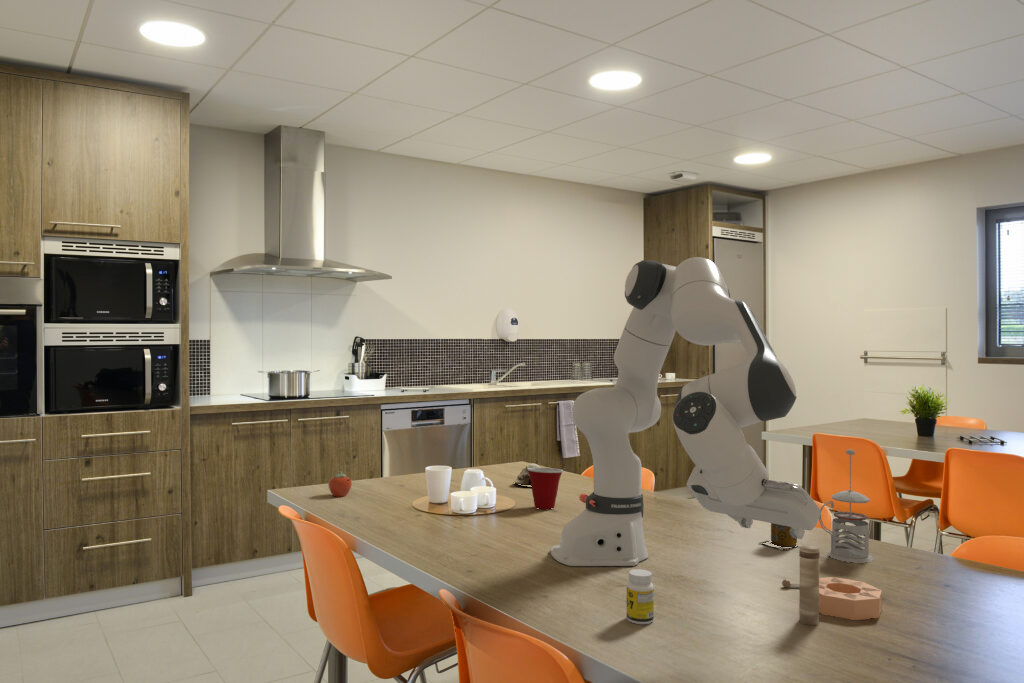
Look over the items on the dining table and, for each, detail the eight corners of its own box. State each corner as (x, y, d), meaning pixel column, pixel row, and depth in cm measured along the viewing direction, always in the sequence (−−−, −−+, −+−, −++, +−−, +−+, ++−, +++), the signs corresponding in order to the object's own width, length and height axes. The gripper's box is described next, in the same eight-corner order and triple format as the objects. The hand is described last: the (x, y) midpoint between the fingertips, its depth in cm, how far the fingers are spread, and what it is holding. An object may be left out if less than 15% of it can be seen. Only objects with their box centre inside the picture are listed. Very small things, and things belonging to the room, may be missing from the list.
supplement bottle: (623, 615, 130) (623, 568, 130) (649, 614, 130) (649, 568, 131) (630, 625, 125) (630, 576, 125) (656, 624, 126) (657, 576, 126)
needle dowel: (806, 625, 126) (807, 550, 126) (795, 618, 129) (795, 545, 129) (823, 624, 126) (823, 549, 127) (811, 617, 130) (811, 544, 130)
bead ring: (836, 621, 128) (836, 601, 128) (793, 598, 140) (793, 579, 140) (896, 616, 130) (896, 596, 130) (849, 593, 143) (849, 575, 143)
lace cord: (783, 588, 145) (783, 580, 145) (780, 586, 147) (780, 578, 147) (872, 590, 145) (872, 582, 145) (868, 587, 146) (868, 579, 146)
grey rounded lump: (511, 485, 247) (512, 460, 254) (514, 501, 255) (515, 476, 262) (546, 485, 246) (546, 460, 253) (548, 501, 253) (549, 476, 260)
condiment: (804, 545, 177) (804, 496, 178) (783, 551, 173) (783, 500, 173) (779, 539, 184) (779, 491, 184) (757, 544, 179) (757, 495, 179)
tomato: (348, 498, 229) (349, 473, 229) (325, 498, 229) (325, 472, 229) (354, 493, 236) (354, 469, 237) (331, 493, 237) (331, 468, 237)
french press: (871, 565, 161) (871, 453, 161) (815, 557, 167) (816, 449, 168) (875, 555, 170) (876, 448, 170) (822, 547, 176) (822, 444, 176)
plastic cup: (569, 506, 219) (569, 467, 219) (551, 513, 210) (552, 472, 210) (538, 502, 225) (538, 463, 225) (520, 508, 216) (520, 468, 216)
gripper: (807, 469, 108) (840, 525, 114) (694, 455, 124) (728, 505, 130) (791, 503, 105) (826, 559, 111) (677, 484, 121) (713, 533, 127)
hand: (772, 529), depth 120 cm, fingers open, 8 cm apart
